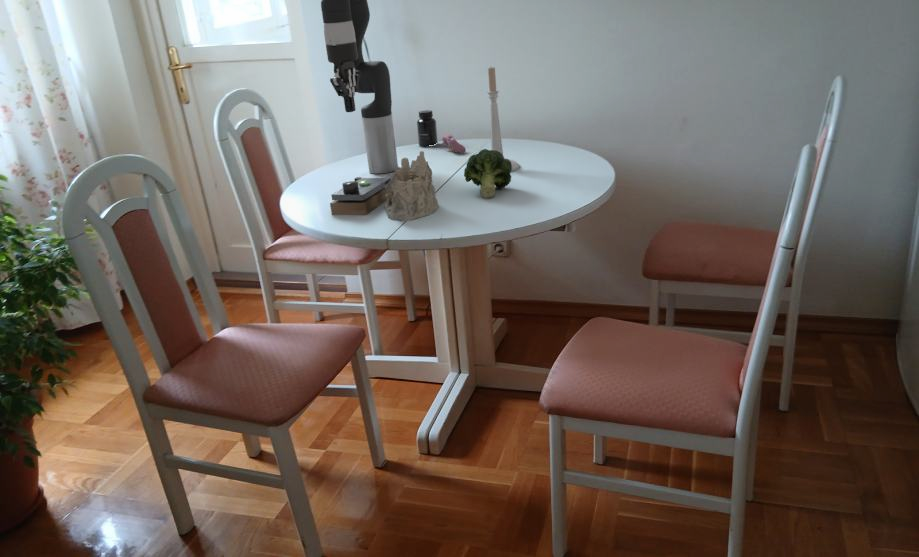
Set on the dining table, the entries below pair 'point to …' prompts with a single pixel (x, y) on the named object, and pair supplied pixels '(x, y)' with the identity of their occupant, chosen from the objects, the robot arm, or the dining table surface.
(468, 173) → the vegetable
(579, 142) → the dining table surface
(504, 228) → the dining table surface
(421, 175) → the miniature castle
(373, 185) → the plate
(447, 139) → the pink shoe
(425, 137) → the supplement bottle
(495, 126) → the candlestick
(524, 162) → the dining table surface
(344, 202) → the brown boxy piece
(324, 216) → the dining table surface
